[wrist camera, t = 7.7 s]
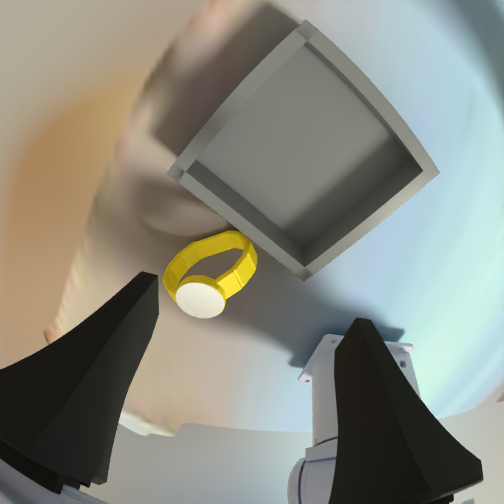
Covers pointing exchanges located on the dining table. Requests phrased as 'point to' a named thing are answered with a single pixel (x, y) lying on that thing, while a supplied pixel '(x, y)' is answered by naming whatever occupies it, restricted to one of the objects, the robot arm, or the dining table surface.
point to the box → (304, 155)
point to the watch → (205, 288)
